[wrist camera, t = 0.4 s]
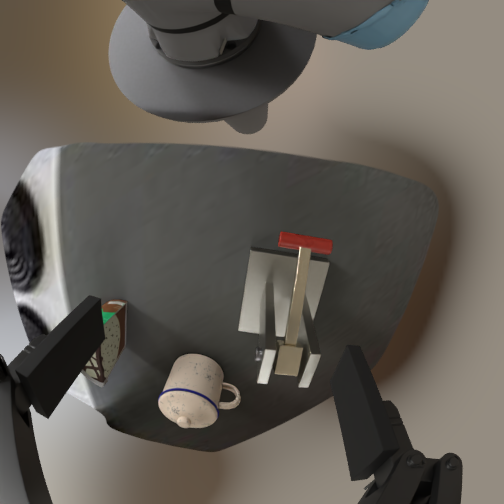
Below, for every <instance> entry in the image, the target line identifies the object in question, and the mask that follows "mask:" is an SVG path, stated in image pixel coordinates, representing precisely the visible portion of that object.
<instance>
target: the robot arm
mask: <svg viewBox="0 0 504 504" xmlns="http://www.w3.org/2000/svg"><path fill="white" fill-rule="evenodd" d="M122 1H124V2H125V3H126V4H127V5H128V6H129V7H130V8H131V9H133V10H134V11H135V12H136V13H137V14H138V15H139V16H140V17H141V18H142V19H143V20H144V21H146V22H147V26H148V32H149V37H150V41H151V43H152V45H153V47H154V49H155V50H156V51H157V53H158V54H159V55H160V56H162V57H163V58H164V59H165V60H167V61H168V62H170V63H172V64H174V65H176V66H179V67H183V68H189V69H204V68H211V67H215V66H218V65H222V64H224V63H227V62H229V61H231V60H233V59H235V58H236V57H238V56H239V55H241V54H242V53H243V52H245V51H246V50H247V49H248V48H249V47H250V46H251V45H252V43H253V42H254V41H255V39H256V37H257V35H258V33H259V30H260V26H261V20H266V21H270V22H275V23H279V24H283V25H287V26H291V27H295V28H299V29H302V30H306V31H309V32H312V33H315V34H319V35H322V37H323V38H325V39H328V40H338V41H341V42H344V43H347V44H350V45H353V46H356V47H358V48H362V49H367V50H371V49H376V48H382V47H385V46H387V45H389V44H391V43H392V42H394V41H396V40H397V39H398V38H400V37H401V36H402V35H403V34H404V33H405V32H406V31H408V30H409V28H410V27H411V26H412V25H413V24H414V23H415V22H416V20H417V19H418V18H419V17H420V15H421V14H422V12H423V11H424V9H425V7H426V6H427V4H428V1H429V0H122ZM105 339H106V338H105V331H104V324H103V316H102V307H101V299H100V298H97V297H93V296H90V295H89V296H88V297H87V298H86V299H85V300H84V301H83V302H82V303H80V304H79V305H78V306H77V307H76V308H75V309H74V310H73V311H72V312H71V313H70V314H69V315H68V316H67V317H66V318H65V319H64V320H63V321H61V322H60V323H59V324H58V325H57V326H56V327H55V328H54V329H53V330H52V331H51V332H50V333H49V334H48V335H44V334H42V335H40V336H38V337H36V338H34V339H33V340H32V341H31V342H30V343H29V345H28V346H26V347H25V348H24V351H23V350H22V351H21V353H20V354H19V355H18V356H17V357H16V358H15V359H14V360H13V361H12V362H11V363H10V364H9V365H8V366H7V364H6V362H5V360H4V358H3V356H2V355H1V354H0V504H53V503H52V500H51V497H50V494H49V491H48V488H47V485H46V482H45V478H44V475H43V472H42V468H41V464H40V460H39V456H38V451H37V446H36V442H35V437H34V431H33V425H32V418H31V412H30V409H29V407H30V406H31V405H33V407H34V409H35V410H36V412H38V413H39V414H41V415H43V416H44V417H46V418H49V417H50V415H51V414H52V413H53V411H54V410H55V408H56V407H57V405H58V404H59V402H60V401H61V399H62V398H63V396H64V395H65V393H66V392H67V391H68V389H69V388H70V386H71V385H72V383H73V382H74V381H75V379H76V378H77V376H78V375H79V374H80V372H81V371H82V370H83V368H84V367H85V365H86V364H87V363H88V361H89V360H90V359H91V357H92V356H93V355H94V353H95V352H96V351H97V349H98V348H99V347H100V345H101V344H102V343H103V341H104V340H105ZM330 384H331V388H332V392H333V396H334V401H335V405H336V409H337V413H338V418H339V423H340V427H341V432H342V437H343V441H344V446H345V451H346V456H347V461H348V466H349V471H350V476H351V481H356V480H363V479H368V478H369V477H370V476H371V475H372V474H373V473H374V477H375V479H374V480H373V481H372V482H371V483H370V484H368V485H367V486H366V487H365V488H364V489H365V490H366V489H367V488H368V489H367V491H366V492H365V494H364V495H363V497H362V498H361V500H360V501H359V502H358V504H460V503H461V491H462V461H461V459H460V457H459V456H457V455H456V454H454V453H447V454H445V455H444V456H443V457H442V458H440V459H431V458H426V457H425V456H424V455H423V453H421V452H420V451H418V450H414V449H413V447H412V444H411V442H410V439H409V437H408V434H407V431H406V429H405V426H404V425H403V421H402V419H401V418H400V414H399V412H398V409H397V408H396V406H395V405H394V404H393V403H392V402H391V401H382V398H381V396H380V393H379V390H378V388H377V386H376V383H375V381H374V378H373V376H372V373H371V371H370V369H369V366H368V364H367V361H366V359H365V357H364V354H363V352H362V350H361V347H360V346H355V345H347V346H346V348H345V350H344V353H343V355H342V357H341V359H340V361H339V364H338V366H337V368H336V370H335V372H334V374H333V376H332V378H331V380H330Z"/></svg>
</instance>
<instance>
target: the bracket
mask: <svg viewBox="0 0 504 504" xmlns="http://www.w3.org/2000/svg"><path fill="white" fill-rule="evenodd" d="M296 261H297V254H294V253H288V252H281V251H275V250H269V249H263V248H256V247H251V250H250V256H249V263H248V269H247V276H246V282H245V288H244V295H243V301H242V307H241V314H240V320H239V327H238V331H244V332H251V333H258V334H259V347H257V348H256V353H255V361H258V370H257V383H262V384H267V383H268V380H269V376H270V373H271V369H272V365H273V362H274V358H275V354H276V351H277V349H276V336H280V337H284V336H285V331H286V325H287V319H288V313H289V307H290V301H291V294H292V288H293V281H294V275H295V268H296ZM329 264H330V263H329V261H328V259H325V258H319V257H313V256H310V263H309V270H308V277H307V284H306V290H305V297H304V303H303V309H302V315H301V321H300V327H299V332H298V338H297V342H299V344H300V345H301V346H302V347H303V352H302V357H301V362H300V367H299V372H298V376H297V379H298V387H306V388H308V387H309V384H310V382H311V379H312V377H313V374H314V372H315V370H316V367H317V366H318V363H319V359H320V357H321V352H320V348H319V344H318V340H317V336H316V332H315V328H314V324H313V320H314V317H315V314H316V310H317V307H318V303H319V300H320V297H321V293H322V290H323V286H324V282H325V279H326V275H327V271H328V268H329Z"/></svg>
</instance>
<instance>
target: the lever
mask: <svg viewBox="0 0 504 504" xmlns="http://www.w3.org/2000/svg"><path fill="white" fill-rule="evenodd" d="M278 246H279V247H284V248H290V249H296V250H298V254H297V261H296V268H295V275H294V281H293V288H292V294H291V301H290V307H289V313H288V319H287V325H286V331H285V336H284V341H283V340H277V343H276V349H277V351H276V354H275V358H274V362H273V365H272V366H273V370H274V373H275V374H283V375H294V376H298V372H299V367H300V362H301V357H302V352H303V347H302V346H301V345H300V344H299V342H297V338H298V332H299V327H300V321H301V315H302V309H303V303H304V297H305V290H306V284H307V277H308V270H309V263H310V256H311V252H315V253H321V254H327V255H330V253H331V251H332V246H333V243H332V240H328V239H323V238H317V237H311V236H305V235H300V234H294V233H288V232H280V235H279V241H278Z"/></svg>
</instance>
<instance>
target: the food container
mask: <svg viewBox="0 0 504 504" xmlns="http://www.w3.org/2000/svg"><path fill="white" fill-rule="evenodd" d="M101 307H102V316H103V324H104V331H105V338H106V339H105V340H104V341H103V343H102V344H101V345H100V347H99V348H98V349H97V351H96V352H95V353H94V355H93V356H92V357H91V359H90V360H89V361H88V363H87V364H86V365H85V367H84V368H83V370H82V371H81V373H82V374H83V375H84V376H85V377H86V378H88V379H89V380H90V381H92V382H93V383H95V384H96V385H98V386H100V387H103V386H104V385H105V384H106V383H107V381H108V380H107V378H108V376H109V375H110V373H111V371H112V369H113V367H114V366H115V364H116V362H117V360H118V359H119V357H120V355H121V353H122V352H123V350H124V348H125V346H126V322H127V301H124V300H111V301H108V302H106V303H105V304H104V305H103V306H101Z"/></svg>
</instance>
